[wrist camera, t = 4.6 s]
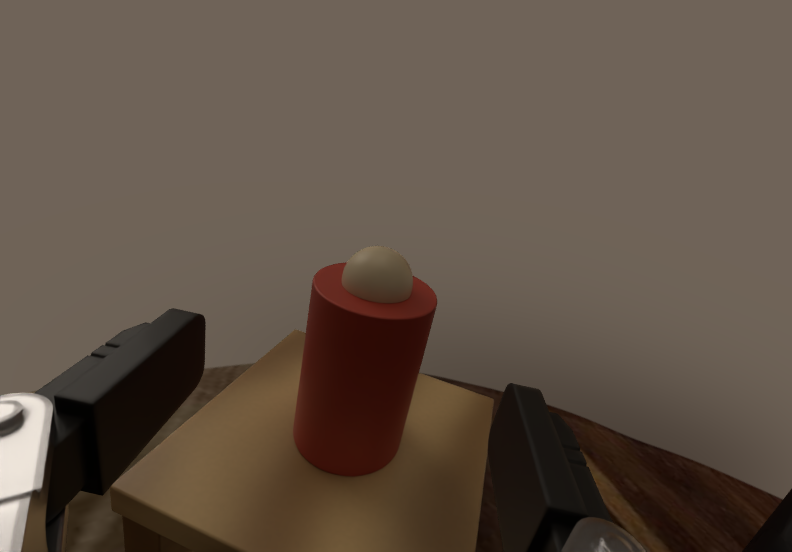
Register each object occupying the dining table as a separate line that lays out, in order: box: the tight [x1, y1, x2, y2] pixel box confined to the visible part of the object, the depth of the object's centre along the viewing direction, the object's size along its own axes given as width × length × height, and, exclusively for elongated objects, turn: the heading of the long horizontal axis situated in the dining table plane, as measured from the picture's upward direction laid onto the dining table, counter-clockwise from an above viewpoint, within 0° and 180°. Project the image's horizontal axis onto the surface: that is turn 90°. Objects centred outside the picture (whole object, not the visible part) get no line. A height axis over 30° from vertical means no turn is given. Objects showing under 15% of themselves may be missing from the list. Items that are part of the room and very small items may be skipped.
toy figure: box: [293, 246, 437, 476], centre depth 16 cm, size 5×5×8 cm
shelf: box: [110, 330, 494, 552], centre depth 20 cm, size 12×12×10 cm
